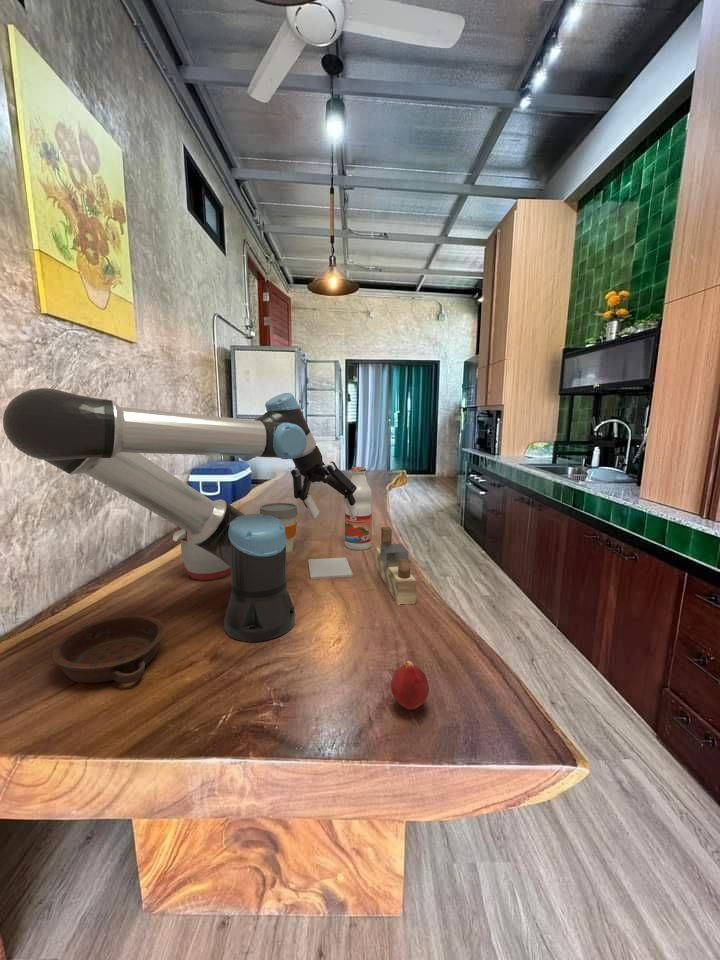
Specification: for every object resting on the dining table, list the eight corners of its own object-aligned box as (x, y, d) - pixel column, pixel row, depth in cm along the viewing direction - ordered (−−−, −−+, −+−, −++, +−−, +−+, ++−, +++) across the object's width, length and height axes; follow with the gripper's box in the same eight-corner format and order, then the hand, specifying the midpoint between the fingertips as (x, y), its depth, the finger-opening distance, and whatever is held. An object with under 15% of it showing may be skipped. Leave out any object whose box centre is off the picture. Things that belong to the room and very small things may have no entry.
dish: (71, 718, 61) (67, 688, 60) (43, 657, 76) (40, 633, 75) (186, 667, 73) (184, 641, 72) (142, 623, 88) (141, 602, 87)
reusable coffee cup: (253, 553, 133) (252, 509, 131) (272, 542, 145) (271, 501, 143) (287, 557, 130) (286, 512, 127) (304, 545, 141) (303, 504, 139)
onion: (424, 695, 66) (425, 650, 65) (431, 721, 61) (433, 673, 59) (388, 695, 66) (390, 650, 65) (392, 721, 60) (394, 673, 59)
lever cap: (408, 566, 107) (408, 551, 106) (386, 567, 106) (386, 552, 105) (400, 557, 114) (401, 543, 113) (380, 558, 113) (380, 544, 112)
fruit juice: (375, 544, 144) (377, 467, 139) (363, 552, 135) (364, 470, 131) (352, 540, 148) (353, 465, 143) (339, 547, 140) (340, 468, 135)
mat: (352, 576, 115) (352, 574, 115) (310, 579, 113) (310, 576, 113) (346, 559, 128) (346, 557, 128) (308, 561, 126) (308, 559, 126)
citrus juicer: (167, 573, 116) (163, 505, 113) (225, 559, 127) (223, 497, 124) (186, 591, 104) (181, 516, 101) (248, 574, 116) (246, 506, 112)
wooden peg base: (415, 603, 99) (417, 553, 97) (397, 605, 98) (399, 553, 96) (389, 565, 124) (390, 524, 122) (375, 566, 123) (376, 524, 121)
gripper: (349, 437, 101) (377, 504, 110) (277, 449, 115) (307, 508, 124) (335, 452, 96) (366, 522, 105) (261, 463, 109) (295, 524, 118)
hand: (335, 514), depth 114 cm, fingers open, 13 cm apart
